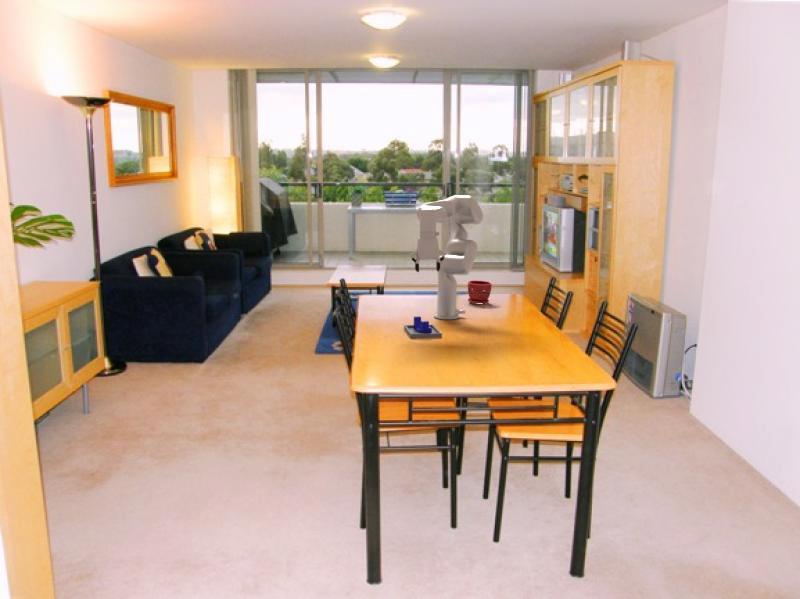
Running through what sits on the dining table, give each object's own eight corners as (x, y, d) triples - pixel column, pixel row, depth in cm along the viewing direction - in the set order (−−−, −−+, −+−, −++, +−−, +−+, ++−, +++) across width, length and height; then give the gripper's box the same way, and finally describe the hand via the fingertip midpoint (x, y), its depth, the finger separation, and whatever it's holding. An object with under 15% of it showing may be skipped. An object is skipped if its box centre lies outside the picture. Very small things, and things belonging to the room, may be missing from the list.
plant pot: (468, 305, 396) (469, 283, 394) (466, 300, 409) (466, 280, 407) (492, 305, 396) (493, 284, 394) (489, 301, 409) (489, 280, 407)
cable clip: (431, 334, 322) (432, 321, 321) (422, 335, 321) (422, 322, 320) (422, 328, 333) (423, 316, 332) (413, 329, 332) (413, 316, 331)
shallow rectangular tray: (433, 328, 337) (433, 324, 337) (441, 337, 320) (441, 333, 319) (403, 329, 335) (403, 325, 335) (410, 338, 318) (410, 334, 317)
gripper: (444, 233, 339) (443, 269, 342) (408, 234, 336) (408, 270, 339) (448, 235, 331) (447, 272, 335) (411, 236, 328) (411, 273, 332)
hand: (427, 271), depth 337 cm, fingers open, 9 cm apart
